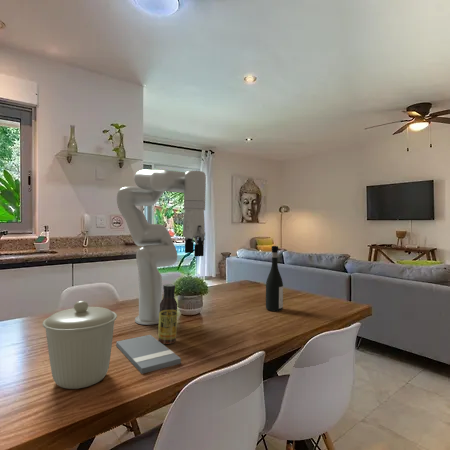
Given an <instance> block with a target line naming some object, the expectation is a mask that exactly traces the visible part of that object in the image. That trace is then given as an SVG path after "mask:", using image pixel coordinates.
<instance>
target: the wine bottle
mask: <svg viewBox="0 0 450 450" xmlns="http://www.w3.org/2000/svg"><path fill="white" fill-rule="evenodd" d="M278 254H279V246H277V245H272V246H271V268H270V271H269V274H268V276H267V278H266V284H265V309H266V310H268V311H270V312H280V311H282V310H283V309H284V283H283V278H282V275H281V274H280V270H279V266H278V261H279V260H278V256H279V255H278Z"/></svg>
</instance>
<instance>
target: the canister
mask: <svg viewBox="0 0 450 450" xmlns="http://www.w3.org/2000/svg"><path fill="white" fill-rule="evenodd" d="M117 319H118V314H117V313H116V312H115V311H112V310H111V309H109V308H107V307H102V306H89V303H88V302H87V301H86V300H78V301H76V302H75V303H74V304H73V307H72V308H66V309H63V310H60V311H57V312H54V313H52V314H51V315H50V316H49V317H47V318H45V319H44V320H43V321H42V323H41V325H42V327H43V328H44V329H45V334H46V342H47V343H46V344H47V350H48V351H47V352H48V358H49V365H50V371H51V376H52V379H53V382H54V383H55V384H56V385H57V386H58V387H60V388H63V389H68V390H76V389H77V390H78V389H83V388H87V387H90V386H93V385H95V384H98V383H99V382H100V381H103V379H104V378H105V376H106V375H107V373H108V371H109V366H110V362H111V354H112V348H113V338H114V331H115V329H114V328H115V321H116V320H117Z"/></svg>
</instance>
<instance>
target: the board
mask: <svg viewBox="0 0 450 450" xmlns="http://www.w3.org/2000/svg"><path fill="white" fill-rule="evenodd" d="M158 340H159V339H157V338H155V337H154V336H153V335H152V334H147V335H142V336H137V337H132V338H127V339H123V340H118V341H116V343H115V345H116V348H117V349H118V350H119V351H120V352H121V353H122V354H123V356H125V357H126V359H128V361H129V362H130V363H131V364H132V365H133V366H134V367H135V368H136V369H137V371H138V372H139V373H140V374H141V375H143V374H146V373H147V374H148V373H150V372H154V371H158V370H162V369H165V368H170V367H173V366H177V365H180V364H182V358H181V357H180V356H179V355H177V354H176V353H175V352H174V351H173V350H171V349H169V347H167V346H166V345H165V344H162V343H160V342H159V341H158Z"/></svg>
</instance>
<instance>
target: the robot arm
mask: <svg viewBox="0 0 450 450" xmlns="http://www.w3.org/2000/svg"><path fill="white" fill-rule="evenodd" d="M206 176H207V175H206V173H205V172H204V171H201V170H187V171H186V172H183V171H176V170H169V169H168V170H167V169H165V170H164V169H163V170H162V169H147V168H145V169H140V170H138V171H137V172H136V173H135V175H134V178H133V179H134V180H133V181H134V183H135V185H136V186H124V187H121V188H119V190H118V191H117V194H116V204H117V208H118V211H119V212H120V214H121V216H122V217H123V219H124V221H125V223H126V225H127V228H128V231H129V233H130V236H131V239H132V241H133V242H134V244H135V245H136V246H139V248H138V249H137V251H136V254H135V257H136V258H135V259H136V264H137V270H138V273H137V274H138V315H137V316H135V318H134V322H135V323H136V324H139V325H147V326H149V325H150V326H151V325H152V326H153V325H157V324H158V325H159V311H160V303H161V301H162V299H163V278H162V274H161V272H160V271H159V269H158V268H162V267H169V266H173V265H174V264H175V263H176V262H177V260H178V252H177V251H178V250H177V248H176V246H175V243H174V241H173V239H172V236H171V234H170V232H169V231H168V228H167V227H165V225H163V224H161V223H149V221H148V220H147V218H146V215H145V213H144V212H143V211H142V210H140V209H139V208H138V207H153V206H155V205H156V204H157V202H158V201H159V199H160V198H161V197H162V196H163V195H164V193H165V192H167V193H169V192H170V193H182V194H183V211H184V214H183V223H182V224H183V225H182V236H183V238H184V253H185V254H192V253H193V254H194V257H204V251H205V248H204V247H205V240H206V239H205V238H206V237H205V236H206V232H205V230H206V228H205V211H206V191H207V190H206V188H207V187H206V185H207V183H206V178H207V177H206ZM194 243H195V244H194Z"/></svg>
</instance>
